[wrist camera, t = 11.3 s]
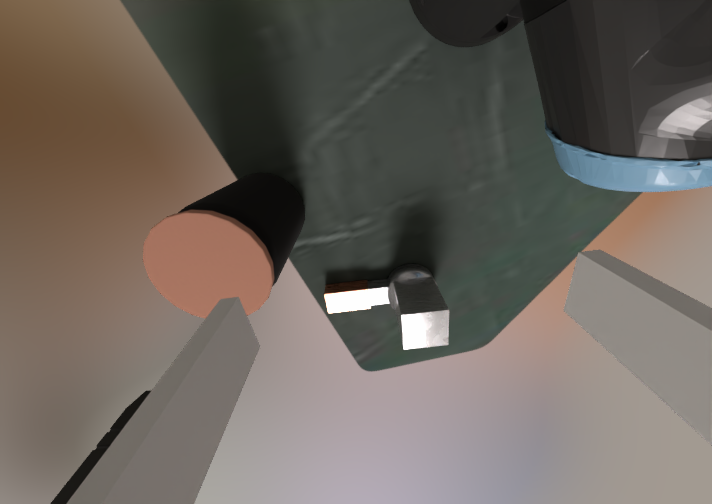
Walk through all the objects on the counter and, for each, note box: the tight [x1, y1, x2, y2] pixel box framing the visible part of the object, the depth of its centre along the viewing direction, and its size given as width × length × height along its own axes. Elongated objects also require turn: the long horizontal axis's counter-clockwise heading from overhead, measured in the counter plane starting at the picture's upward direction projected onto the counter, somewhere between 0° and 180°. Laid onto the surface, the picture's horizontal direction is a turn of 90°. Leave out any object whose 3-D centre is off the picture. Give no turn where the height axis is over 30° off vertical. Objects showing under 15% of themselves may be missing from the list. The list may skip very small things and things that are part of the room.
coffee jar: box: [143, 173, 305, 318], centre depth 30 cm, size 11×11×18 cm
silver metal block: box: [393, 276, 449, 349], centre depth 38 cm, size 6×6×8 cm
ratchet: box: [324, 264, 438, 313], centre depth 41 cm, size 18×8×7 cm, turn 98°
